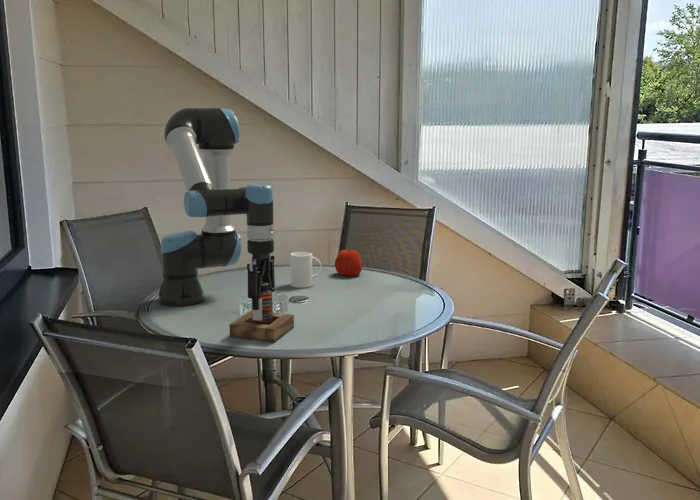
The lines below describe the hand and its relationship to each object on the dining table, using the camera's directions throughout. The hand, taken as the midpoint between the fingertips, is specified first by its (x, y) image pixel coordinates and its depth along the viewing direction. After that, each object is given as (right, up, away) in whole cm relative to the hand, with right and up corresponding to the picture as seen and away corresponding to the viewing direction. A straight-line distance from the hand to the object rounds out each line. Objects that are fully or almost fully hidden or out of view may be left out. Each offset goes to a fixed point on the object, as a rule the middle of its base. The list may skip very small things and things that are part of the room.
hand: (262, 316), depth 189 cm
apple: (+25, +9, +71) cm, 76 cm away
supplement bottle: (0, -2, 0) cm, 2 cm away
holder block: (0, -5, +1) cm, 5 cm away
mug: (+9, +6, +55) cm, 56 cm away
